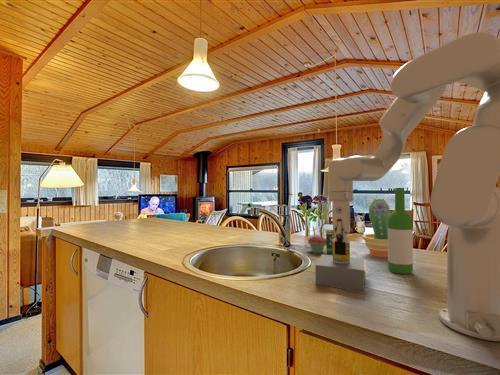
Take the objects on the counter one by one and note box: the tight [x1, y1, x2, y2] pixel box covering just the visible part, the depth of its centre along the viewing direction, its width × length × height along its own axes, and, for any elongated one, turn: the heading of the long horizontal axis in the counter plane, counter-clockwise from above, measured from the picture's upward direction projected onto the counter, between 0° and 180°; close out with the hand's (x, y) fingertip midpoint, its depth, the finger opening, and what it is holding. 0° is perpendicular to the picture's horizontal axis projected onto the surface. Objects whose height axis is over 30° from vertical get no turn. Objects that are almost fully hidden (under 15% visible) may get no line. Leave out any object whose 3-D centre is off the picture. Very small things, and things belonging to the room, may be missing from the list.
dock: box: [314, 254, 367, 292], centre depth 86 cm, size 14×14×6 cm
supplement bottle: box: [332, 232, 351, 264], centre depth 86 cm, size 5×5×10 cm
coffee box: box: [325, 229, 335, 255], centre depth 106 cm, size 8×3×13 cm, turn 63°
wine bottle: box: [387, 187, 414, 275], centre depth 95 cm, size 8×8×30 cm
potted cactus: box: [361, 198, 391, 258], centre depth 119 cm, size 16×15×25 cm
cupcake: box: [307, 226, 326, 254], centre depth 125 cm, size 9×8×12 cm
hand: (341, 251), depth 86 cm, fingers open, 5 cm apart
